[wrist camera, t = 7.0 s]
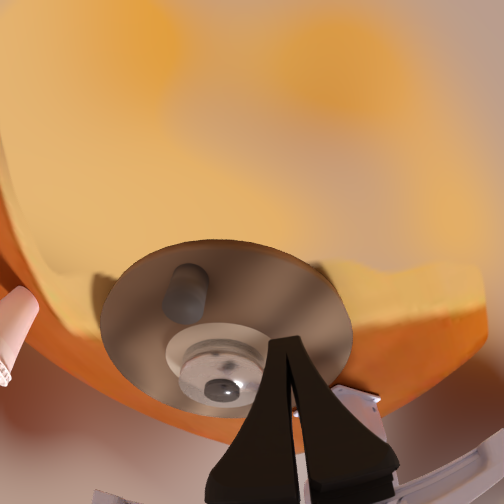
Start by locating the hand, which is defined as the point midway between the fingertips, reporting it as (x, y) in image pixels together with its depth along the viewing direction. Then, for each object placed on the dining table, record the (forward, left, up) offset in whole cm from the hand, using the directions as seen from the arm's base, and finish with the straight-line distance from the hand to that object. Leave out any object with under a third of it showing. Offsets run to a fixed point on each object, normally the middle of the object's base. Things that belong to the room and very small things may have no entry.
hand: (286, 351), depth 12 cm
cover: (-2, +10, -6) cm, 12 cm away
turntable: (-2, +10, -8) cm, 13 cm away
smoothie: (+18, +19, -9) cm, 27 cm away
